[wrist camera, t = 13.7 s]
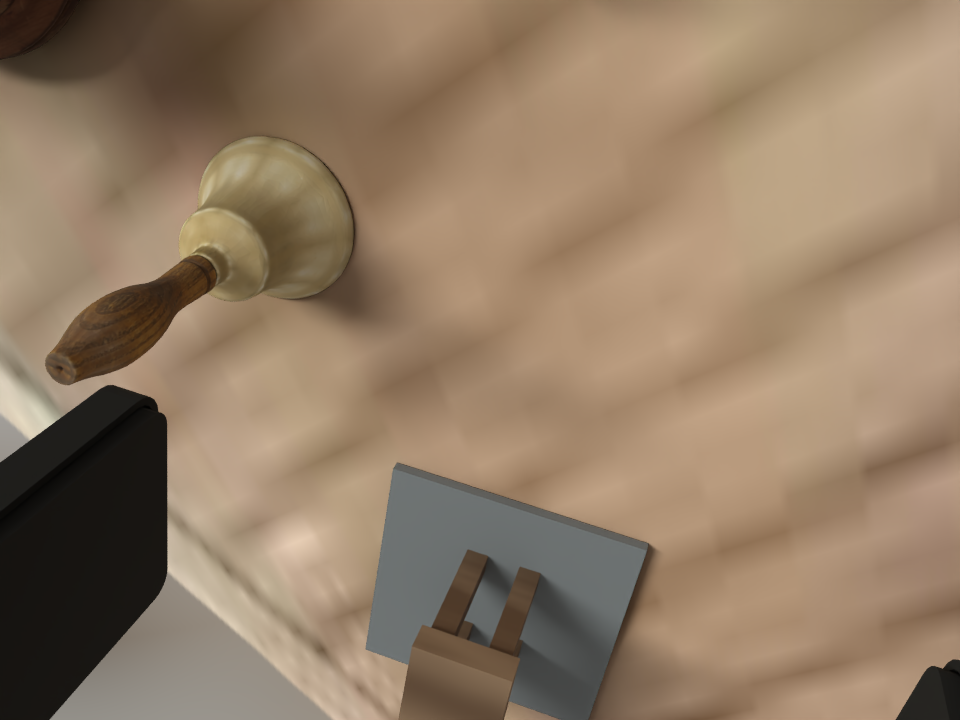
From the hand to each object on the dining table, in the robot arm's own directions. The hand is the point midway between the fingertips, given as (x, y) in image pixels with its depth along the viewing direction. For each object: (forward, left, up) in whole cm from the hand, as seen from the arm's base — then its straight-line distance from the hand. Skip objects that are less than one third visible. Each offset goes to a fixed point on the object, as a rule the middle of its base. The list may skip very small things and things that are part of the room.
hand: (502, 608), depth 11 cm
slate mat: (+3, +29, -30) cm, 42 cm away
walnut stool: (+3, +29, -30) cm, 42 cm away
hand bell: (+18, +10, -31) cm, 37 cm away
